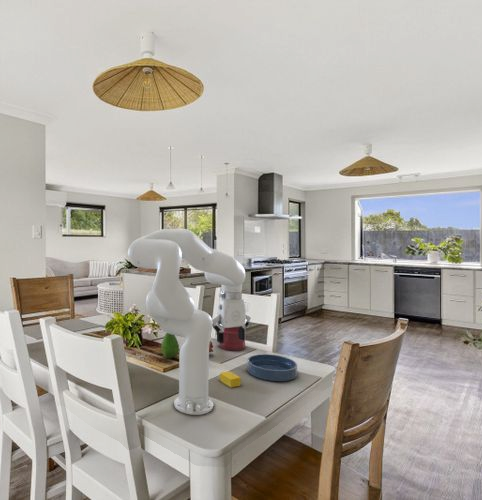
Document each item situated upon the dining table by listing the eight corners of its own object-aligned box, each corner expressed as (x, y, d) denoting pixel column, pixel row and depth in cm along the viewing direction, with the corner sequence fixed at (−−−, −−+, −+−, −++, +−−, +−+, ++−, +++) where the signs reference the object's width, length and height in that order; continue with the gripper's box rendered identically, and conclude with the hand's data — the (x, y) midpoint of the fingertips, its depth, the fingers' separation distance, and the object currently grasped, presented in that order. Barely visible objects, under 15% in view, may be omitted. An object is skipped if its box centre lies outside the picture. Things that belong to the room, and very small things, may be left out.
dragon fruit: (212, 355, 172) (197, 366, 163) (199, 342, 175) (184, 352, 167) (220, 344, 167) (206, 354, 158) (207, 331, 171) (192, 340, 162)
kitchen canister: (218, 350, 175) (219, 314, 174) (218, 342, 188) (219, 308, 187) (246, 351, 173) (247, 315, 172) (244, 343, 186) (245, 309, 185)
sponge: (240, 385, 134) (240, 377, 134) (230, 387, 132) (230, 379, 132) (229, 378, 140) (229, 371, 140) (219, 380, 138) (219, 372, 138)
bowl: (303, 383, 136) (303, 371, 136) (251, 381, 138) (251, 369, 138) (289, 365, 155) (289, 355, 155) (244, 363, 157) (244, 353, 157)
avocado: (159, 360, 160) (159, 333, 160) (163, 354, 168) (163, 329, 167) (177, 361, 158) (177, 334, 158) (180, 356, 166) (180, 330, 166)
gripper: (217, 299, 128) (217, 346, 129) (256, 295, 135) (255, 340, 136) (206, 295, 135) (206, 341, 135) (243, 292, 142) (243, 335, 143)
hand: (230, 341), depth 136 cm, fingers open, 9 cm apart
